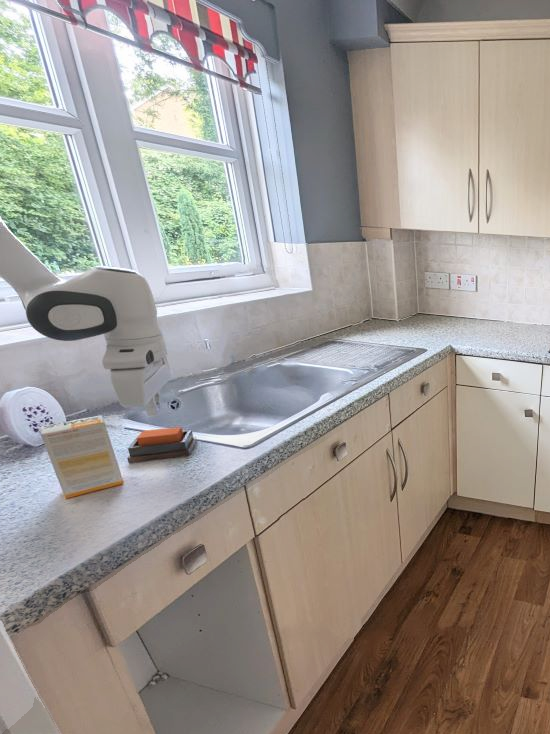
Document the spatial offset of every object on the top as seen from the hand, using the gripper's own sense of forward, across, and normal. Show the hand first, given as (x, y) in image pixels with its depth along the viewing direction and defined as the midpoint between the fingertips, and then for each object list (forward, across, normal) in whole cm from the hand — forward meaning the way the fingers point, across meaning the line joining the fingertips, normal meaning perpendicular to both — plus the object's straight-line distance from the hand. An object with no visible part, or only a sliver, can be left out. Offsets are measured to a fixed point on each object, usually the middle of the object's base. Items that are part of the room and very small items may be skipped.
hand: (155, 412), depth 96 cm
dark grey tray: (+9, 0, 0) cm, 9 cm away
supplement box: (+10, +13, -8) cm, 18 cm away
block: (+8, 0, 0) cm, 8 cm away
